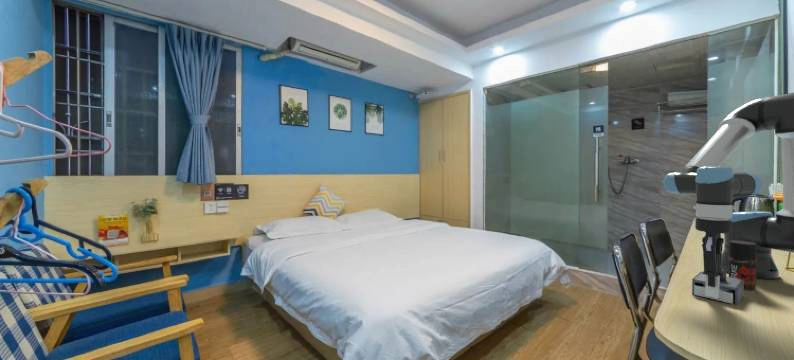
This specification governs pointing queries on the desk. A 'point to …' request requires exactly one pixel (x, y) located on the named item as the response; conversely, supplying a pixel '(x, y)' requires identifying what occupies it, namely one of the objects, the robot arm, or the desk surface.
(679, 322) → the desk surface
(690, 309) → the desk surface
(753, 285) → the deodorant
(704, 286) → the pale blue flat dome
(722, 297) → the tray
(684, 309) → the desk surface
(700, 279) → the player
